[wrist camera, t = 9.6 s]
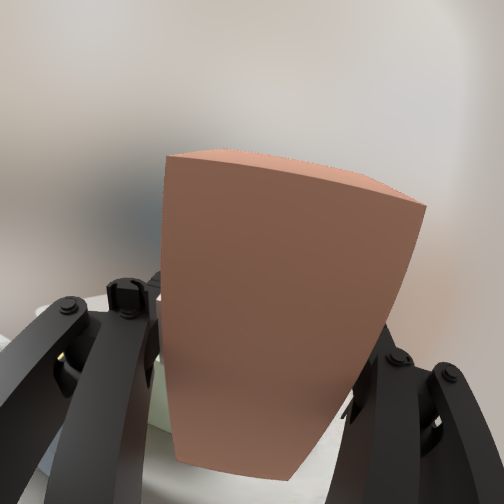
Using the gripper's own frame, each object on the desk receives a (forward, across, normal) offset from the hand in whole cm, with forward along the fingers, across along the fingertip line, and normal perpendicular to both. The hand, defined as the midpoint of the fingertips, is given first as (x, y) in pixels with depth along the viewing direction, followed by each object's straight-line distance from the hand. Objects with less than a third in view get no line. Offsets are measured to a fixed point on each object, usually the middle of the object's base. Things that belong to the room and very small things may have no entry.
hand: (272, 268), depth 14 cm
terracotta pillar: (-5, 0, -6) cm, 8 cm away
